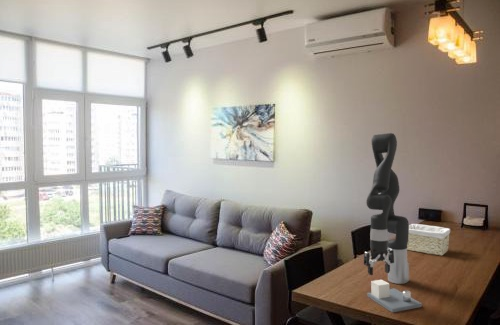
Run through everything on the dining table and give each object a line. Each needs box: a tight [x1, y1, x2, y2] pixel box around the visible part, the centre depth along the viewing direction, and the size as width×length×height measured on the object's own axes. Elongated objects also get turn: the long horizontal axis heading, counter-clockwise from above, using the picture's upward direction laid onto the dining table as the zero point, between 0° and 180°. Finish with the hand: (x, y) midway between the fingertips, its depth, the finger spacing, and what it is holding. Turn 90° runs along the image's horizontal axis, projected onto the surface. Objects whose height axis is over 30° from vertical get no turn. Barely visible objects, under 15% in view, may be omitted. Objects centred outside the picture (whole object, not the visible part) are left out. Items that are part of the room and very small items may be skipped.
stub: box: [402, 290, 412, 302], centre depth 168 cm, size 3×3×4 cm
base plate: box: [366, 287, 423, 313], centre depth 171 cm, size 15×18×2 cm
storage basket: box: [407, 223, 451, 256], centre depth 243 cm, size 24×16×15 cm
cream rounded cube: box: [370, 279, 390, 299], centre depth 174 cm, size 6×6×6 cm
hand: (378, 273), depth 174 cm, fingers open, 8 cm apart
